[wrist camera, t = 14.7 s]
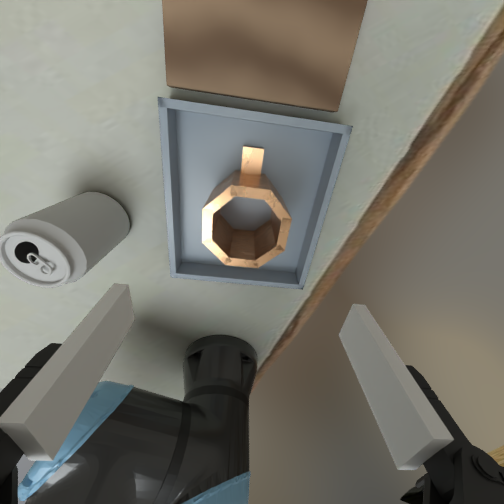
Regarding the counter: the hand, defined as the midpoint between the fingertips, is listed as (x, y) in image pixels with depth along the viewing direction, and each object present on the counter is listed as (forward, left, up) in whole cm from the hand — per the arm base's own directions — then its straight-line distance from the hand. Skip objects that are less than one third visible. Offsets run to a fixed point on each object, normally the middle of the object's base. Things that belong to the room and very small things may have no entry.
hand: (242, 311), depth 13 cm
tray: (0, 0, -20) cm, 20 cm away
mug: (+2, 0, -19) cm, 19 cm away
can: (-4, +19, -20) cm, 28 cm away
